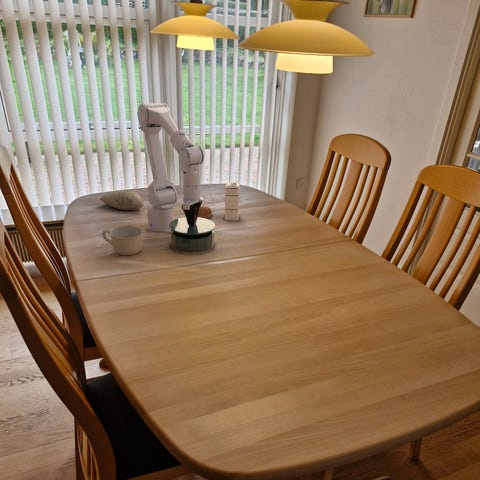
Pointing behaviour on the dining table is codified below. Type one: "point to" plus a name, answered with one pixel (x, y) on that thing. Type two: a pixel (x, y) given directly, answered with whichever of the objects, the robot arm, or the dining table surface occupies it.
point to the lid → (198, 228)
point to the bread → (204, 212)
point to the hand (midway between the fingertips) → (192, 223)
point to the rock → (123, 200)
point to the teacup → (125, 239)
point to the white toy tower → (232, 201)
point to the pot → (192, 242)
